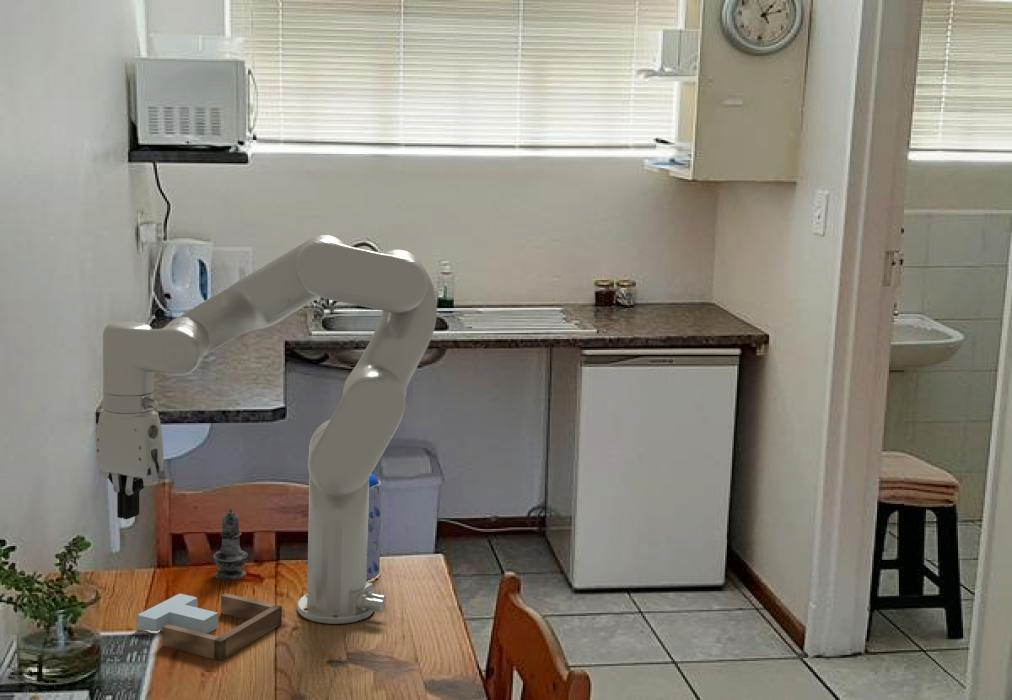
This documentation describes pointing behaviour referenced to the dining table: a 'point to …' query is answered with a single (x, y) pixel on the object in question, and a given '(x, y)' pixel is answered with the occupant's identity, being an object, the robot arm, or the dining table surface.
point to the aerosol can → (374, 527)
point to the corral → (219, 648)
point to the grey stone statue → (230, 550)
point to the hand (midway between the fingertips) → (128, 516)
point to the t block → (178, 615)
